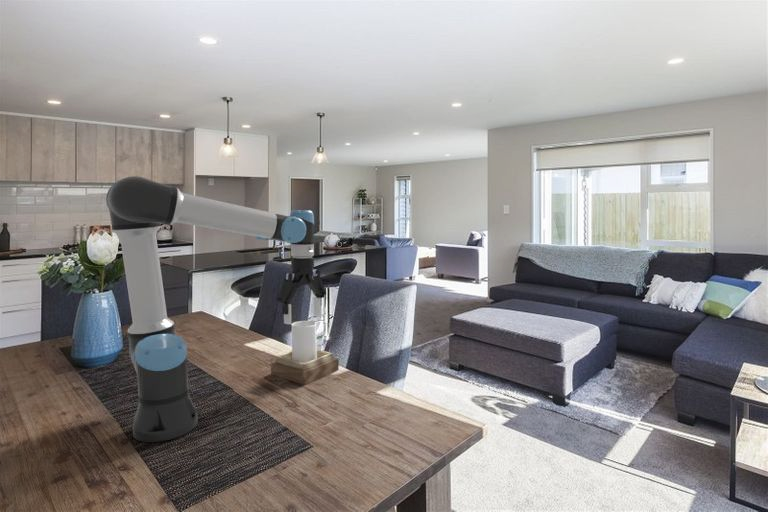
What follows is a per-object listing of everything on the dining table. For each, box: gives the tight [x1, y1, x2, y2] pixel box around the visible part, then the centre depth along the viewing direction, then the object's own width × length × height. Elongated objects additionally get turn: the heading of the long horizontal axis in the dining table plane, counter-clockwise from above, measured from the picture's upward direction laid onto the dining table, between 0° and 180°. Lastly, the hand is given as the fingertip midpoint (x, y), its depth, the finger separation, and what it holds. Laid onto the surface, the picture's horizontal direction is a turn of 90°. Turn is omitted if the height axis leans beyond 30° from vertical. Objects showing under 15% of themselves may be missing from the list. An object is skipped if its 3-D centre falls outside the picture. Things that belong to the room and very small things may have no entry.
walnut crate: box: [270, 356, 340, 386], centre depth 152 cm, size 16×16×5 cm
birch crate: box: [275, 348, 334, 371], centre depth 152 cm, size 13×13×6 cm
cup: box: [290, 320, 318, 363], centre depth 151 cm, size 8×8×16 cm
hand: (302, 319), depth 150 cm, fingers open, 13 cm apart
